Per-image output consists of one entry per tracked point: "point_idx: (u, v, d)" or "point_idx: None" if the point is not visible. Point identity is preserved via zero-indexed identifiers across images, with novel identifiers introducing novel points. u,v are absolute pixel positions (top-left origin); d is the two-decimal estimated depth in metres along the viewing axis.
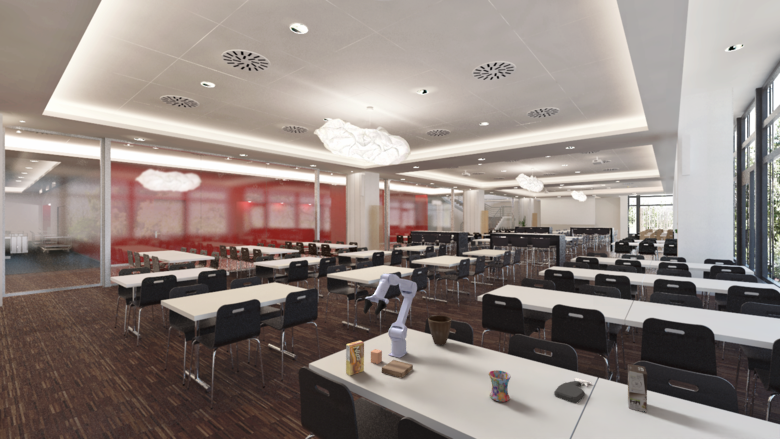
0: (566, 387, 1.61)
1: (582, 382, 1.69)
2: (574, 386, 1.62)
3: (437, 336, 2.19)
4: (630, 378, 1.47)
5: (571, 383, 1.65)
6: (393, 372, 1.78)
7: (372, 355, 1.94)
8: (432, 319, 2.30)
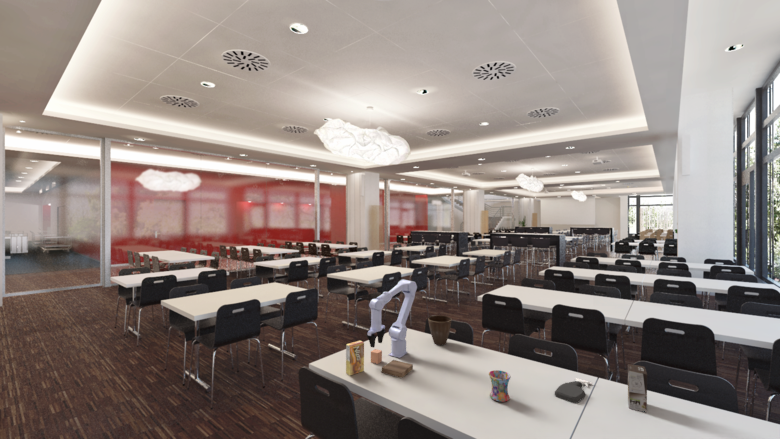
0: (567, 387, 1.61)
1: (583, 382, 1.68)
2: (574, 386, 1.62)
3: (437, 336, 2.19)
4: (630, 378, 1.47)
5: (571, 383, 1.65)
6: (393, 372, 1.78)
7: (372, 355, 1.94)
8: (432, 319, 2.30)
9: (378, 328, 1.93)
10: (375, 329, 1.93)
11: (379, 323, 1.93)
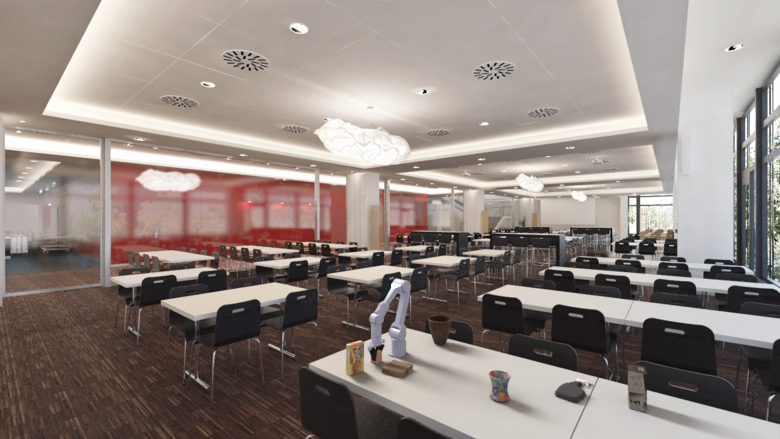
0: (567, 387, 1.61)
1: (583, 382, 1.68)
2: (575, 386, 1.62)
3: (437, 336, 2.19)
4: (630, 378, 1.47)
5: (572, 383, 1.65)
6: (393, 372, 1.78)
7: None
8: (432, 319, 2.30)
9: (378, 342, 1.93)
10: (375, 343, 1.93)
11: (379, 337, 1.93)
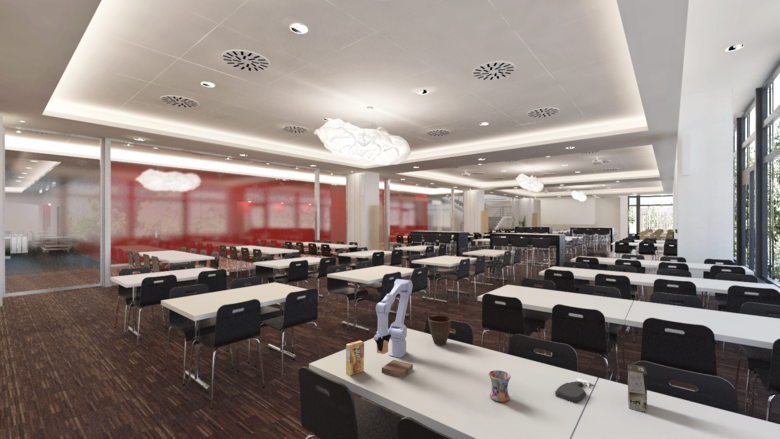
0: (568, 387, 1.61)
1: (584, 382, 1.68)
2: (575, 386, 1.62)
3: (437, 336, 2.19)
4: (630, 378, 1.47)
5: (573, 383, 1.65)
6: (393, 372, 1.78)
7: None
8: (432, 319, 2.30)
9: (385, 332, 1.89)
10: (382, 333, 1.89)
11: (386, 327, 1.89)
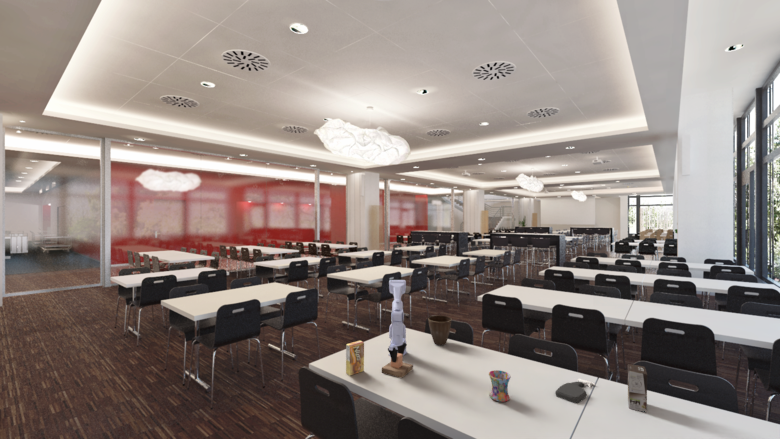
0: (568, 387, 1.61)
1: (585, 383, 1.68)
2: (576, 386, 1.62)
3: (437, 336, 2.19)
4: (630, 378, 1.47)
5: (573, 383, 1.65)
6: (393, 372, 1.78)
7: None
8: (432, 319, 2.30)
9: (400, 342, 1.81)
10: (396, 343, 1.81)
11: (401, 337, 1.82)
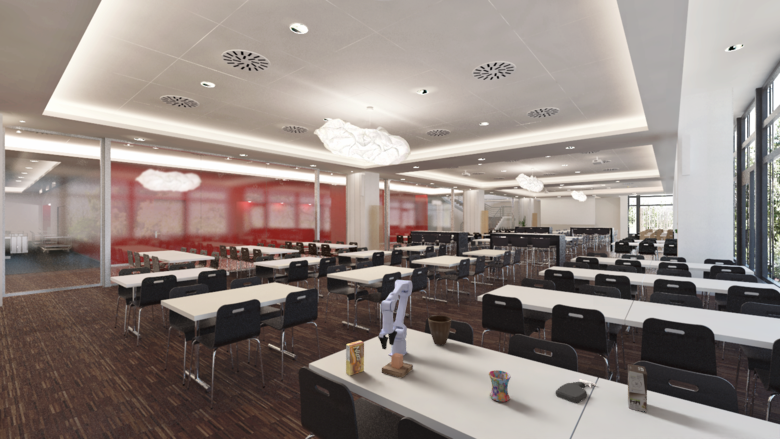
0: (569, 387, 1.61)
1: (586, 383, 1.68)
2: (577, 386, 1.62)
3: (437, 336, 2.19)
4: (630, 378, 1.47)
5: (574, 383, 1.65)
6: (393, 372, 1.78)
7: (393, 359, 1.82)
8: (432, 319, 2.30)
9: (390, 330, 1.90)
10: (387, 331, 1.90)
11: (391, 325, 1.90)
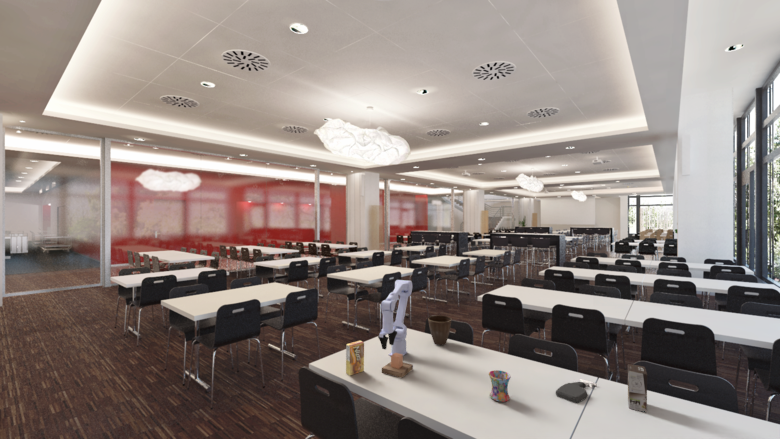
0: (569, 387, 1.61)
1: (587, 383, 1.67)
2: (577, 387, 1.62)
3: (437, 336, 2.19)
4: (630, 378, 1.47)
5: (575, 384, 1.65)
6: (393, 372, 1.78)
7: (393, 359, 1.82)
8: (432, 319, 2.29)
9: (390, 330, 1.90)
10: (387, 331, 1.90)
11: (391, 325, 1.90)
